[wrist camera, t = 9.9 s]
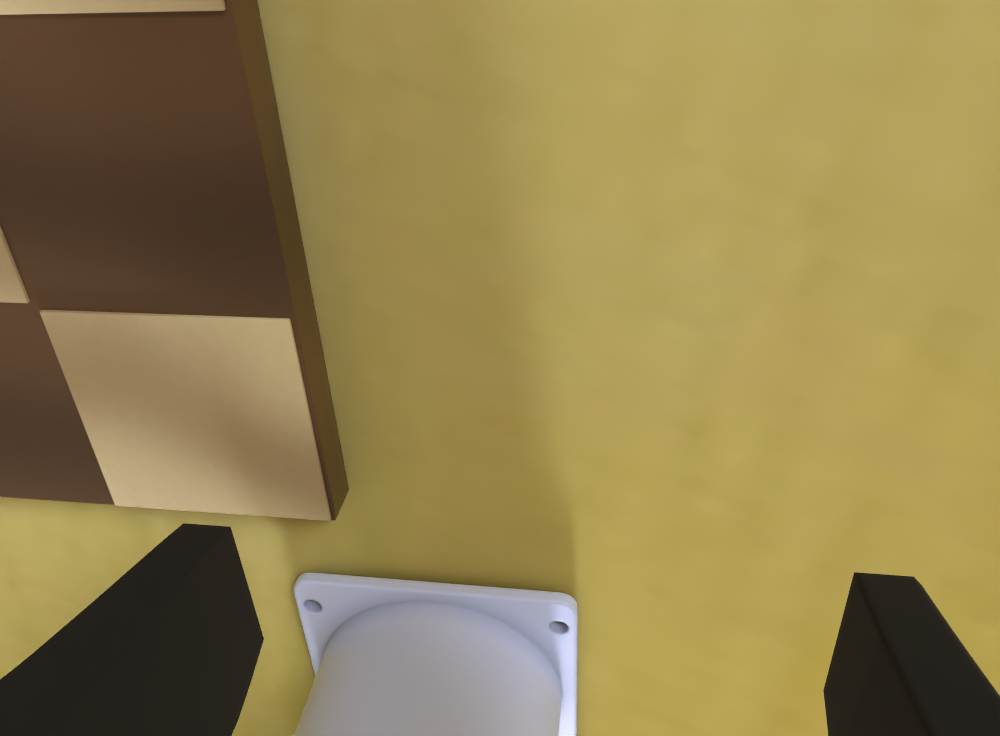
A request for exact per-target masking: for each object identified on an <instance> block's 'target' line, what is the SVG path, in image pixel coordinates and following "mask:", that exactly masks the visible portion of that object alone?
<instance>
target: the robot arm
mask: <svg viewBox="0 0 1000 736" xmlns="http://www.w3.org/2000/svg"><path fill="white" fill-rule="evenodd" d="M293 592H294V596H295V600H296V604H297V607H298V611H299V615H300V619H301V623H302V627H303V631H304V635H305V639H306V642H307V646H308V650H309V654H310V658H311V662H312V666H313V670H314V674H315V679H314V681H313V684H312V687H311V689H310V692H309V695H308V697H307V700H306V703H305V705H304V708H303V711H302V713H301V716H300V719H299V721H298V724H297V727H296V729H295V732H294V735H293V736H577V653H578V605H577V602H576V600H575V599H574V598H573V597H571V596H570V595H568V594H566V593H561V592H551V591H539V590H526V589H514V588H501V587H488V586H476V585H463V584H451V583H438V582H426V581H413V580H401V579H388V578H376V577H363V576H351V575H338V574H326V573H313V572H310V573H303V574H301V575H299V577H298V578H297V580H296V582H295V585H294V587H293ZM557 621H561V622H557ZM263 640H264V638H263V635H262V631H261V628H260V625H259V621H258V618H257V614H256V611H255V608H254V604H253V601H252V598H251V594H250V591H249V588H248V584H247V581H246V578H245V574H244V571H243V567H242V564H241V561H240V557H239V554H238V551H237V547H236V544H235V541H234V537H233V534H232V530H231V527H225V526H211V525H197V524H182V525H181V526H180V527H179V528H178V529H176V530H175V531H174V532H173V533H172V534H170V535H169V536H168V537H167V538H166V539H164V540H163V541H162V542H161V543H160V544H159V545H157V546H156V547H155V548H154V549H153V550H152V551H151V552H149V553H148V554H147V555H146V556H145V557H144V558H143V559H141V560H140V561H139V562H138V563H137V564H136V565H135V566H133V567H132V568H131V569H130V570H129V571H128V572H127V573H126V574H124V575H123V576H122V577H121V578H120V579H119V580H118V581H116V582H115V583H114V584H113V585H112V586H111V587H110V588H108V589H107V590H106V591H105V592H104V593H103V594H102V595H100V596H99V597H98V598H97V599H96V600H95V601H94V602H92V603H91V604H90V605H89V606H88V607H87V608H85V609H84V610H83V611H82V612H81V613H80V614H78V615H77V616H76V617H75V618H74V619H73V620H71V621H70V622H69V623H68V624H67V625H66V626H64V627H63V628H62V629H61V630H60V631H59V632H57V633H56V634H55V635H54V636H53V637H52V638H50V639H49V640H48V641H47V642H46V643H45V644H43V645H42V646H41V647H40V648H39V649H38V650H36V651H35V652H34V653H33V654H32V655H30V656H29V657H28V658H27V659H26V660H24V661H23V662H22V663H21V664H19V665H18V666H17V667H16V668H14V669H13V670H12V671H11V672H9V673H8V674H7V675H6V676H4V677H3V678H2V679H1V680H0V736H231V735H232V733H233V730H234V728H235V726H236V723H237V721H238V719H239V716H240V713H241V710H242V707H243V704H244V701H245V698H246V695H247V692H248V689H249V686H250V683H251V679H252V676H253V673H254V669H255V666H256V663H257V659H258V656H259V653H260V650H261V646H262V643H263ZM824 698H825V708H826V717H827V726H828V735H829V736H1000V696H999V694H998V693H997V692H996V690H995V689H994V687H993V686H992V685H991V683H990V682H989V680H988V679H987V678H986V676H985V675H984V674H983V672H982V671H981V669H980V668H979V667H978V665H977V664H976V663H975V661H974V660H973V658H972V657H971V656H970V654H969V653H968V651H967V650H966V649H965V647H964V646H963V644H962V643H961V641H960V640H959V639H958V637H957V636H956V634H955V633H954V631H953V630H952V629H951V627H950V626H949V624H948V623H947V621H946V620H945V619H944V617H943V616H942V614H941V613H940V611H939V610H938V608H937V607H936V605H935V604H934V603H933V601H932V600H931V598H930V597H929V595H928V594H927V592H926V591H925V589H924V588H923V587H922V585H921V584H920V583H919V582H918V581H917V580H916V579H915V578H914V577H910V576H896V575H882V574H869V573H855V572H854V576H853V580H852V583H851V587H850V591H849V595H848V599H847V603H846V606H845V610H844V614H843V618H842V622H841V626H840V629H839V633H838V637H837V641H836V645H835V649H834V652H833V656H832V660H831V664H830V668H829V672H828V675H827V679H826V683H825V687H824Z"/></svg>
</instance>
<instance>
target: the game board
mask: <svg viewBox="0 0 1000 736" xmlns="http://www.w3.org/2000/svg"><path fill="white" fill-rule="evenodd" d="M348 490H349V488H348V483H347V477H346V472H345V467H344V461H343V456H342V451H341V445H340V440H339V435H338V429H337V424H336V419H335V413H334V408H333V403H332V397H331V392H330V387H329V381H328V376H327V371H326V365H325V360H324V355H323V349H322V344H321V339H320V333H319V328H318V323H317V317H316V312H315V307H314V301H313V296H312V291H311V285H310V280H309V275H308V269H307V264H306V259H305V253H304V248H303V243H302V237H301V232H300V227H299V221H298V216H297V211H296V205H295V200H294V195H293V189H292V184H291V179H290V173H289V168H288V163H287V157H286V152H285V147H284V141H283V136H282V131H281V125H280V120H279V115H278V109H277V104H276V99H275V93H274V88H273V83H272V77H271V72H270V67H269V61H268V56H267V51H266V45H265V40H264V35H263V29H262V24H261V19H260V13H259V8H258V3H257V0H0V497H10V498H24V499H38V500H53V501H67V502H81V503H95V504H109V505H115V506H126V507H140V508H154V509H168V510H182V511H196V512H210V513H225V514H239V515H253V516H267V517H281V518H295V519H309V520H324V521H331V520H336V518H337V516H338V514H339V511H340V509H341V506H342V504H343V502H344V499H345V497H346V495H347V492H348Z"/></svg>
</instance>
